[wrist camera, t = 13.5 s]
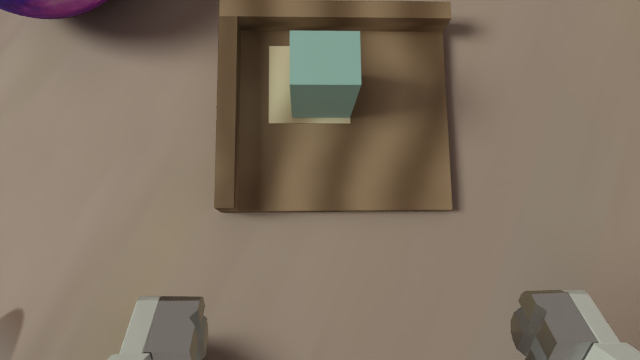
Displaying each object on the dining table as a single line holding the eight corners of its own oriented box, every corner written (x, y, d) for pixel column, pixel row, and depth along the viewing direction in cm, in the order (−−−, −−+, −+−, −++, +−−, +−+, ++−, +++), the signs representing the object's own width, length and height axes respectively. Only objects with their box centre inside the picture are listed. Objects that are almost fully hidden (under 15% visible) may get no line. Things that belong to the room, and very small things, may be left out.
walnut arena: (221, 212, 41) (214, 208, 37) (225, 19, 44) (219, -1, 40) (448, 210, 42) (462, 206, 38) (438, 21, 44) (450, 1, 41)
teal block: (291, 117, 41) (289, 84, 33) (291, 73, 42) (289, 30, 34) (349, 117, 41) (361, 84, 34) (349, 73, 42) (359, 31, 34)
